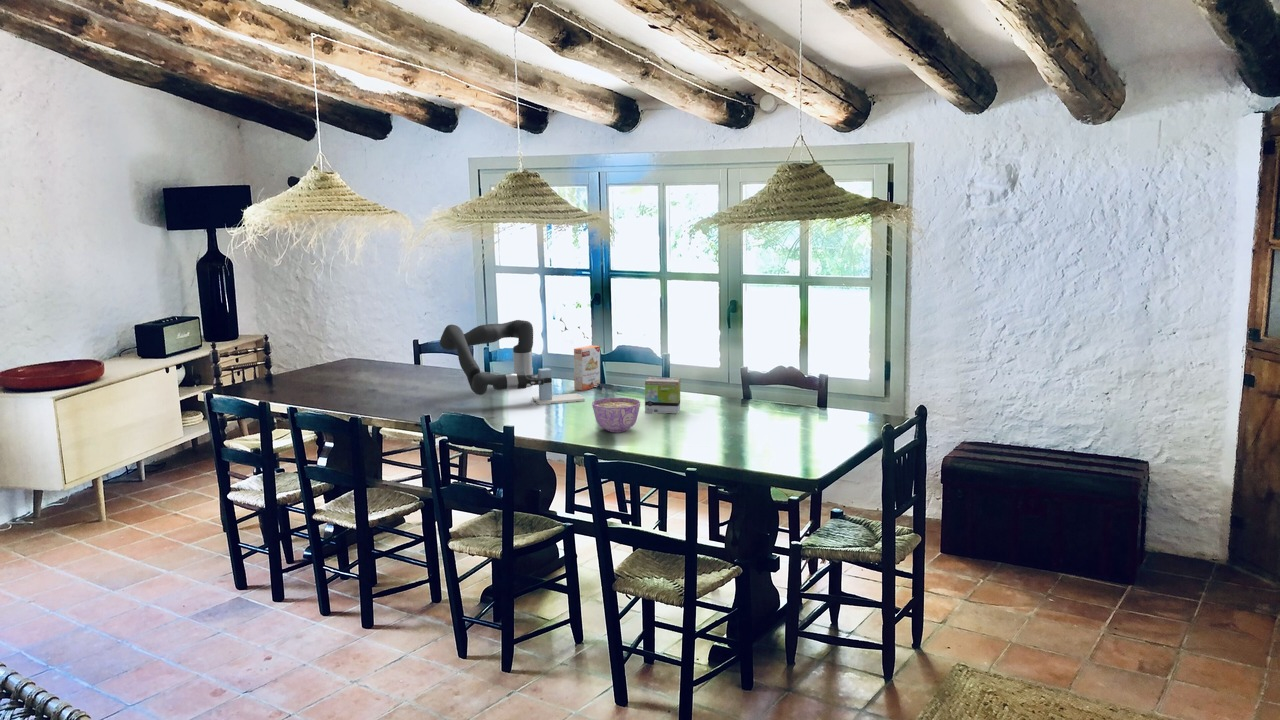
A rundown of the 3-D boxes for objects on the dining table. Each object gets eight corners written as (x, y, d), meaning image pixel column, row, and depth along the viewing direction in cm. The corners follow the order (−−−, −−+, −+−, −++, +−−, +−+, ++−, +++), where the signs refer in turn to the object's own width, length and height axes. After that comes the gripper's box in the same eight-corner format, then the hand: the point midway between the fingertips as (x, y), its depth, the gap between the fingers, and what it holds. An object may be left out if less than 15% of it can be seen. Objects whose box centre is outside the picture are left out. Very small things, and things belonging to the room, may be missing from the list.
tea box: (644, 413, 436) (644, 380, 434) (647, 408, 446) (647, 376, 443) (678, 414, 434) (678, 381, 431) (680, 409, 444) (680, 377, 441)
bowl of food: (636, 436, 395) (636, 408, 393) (587, 435, 399) (587, 407, 397) (644, 425, 415) (644, 398, 413) (597, 423, 418) (597, 396, 416)
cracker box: (583, 391, 486) (582, 349, 482) (573, 390, 489) (572, 348, 486) (601, 386, 497) (600, 345, 493) (592, 385, 500) (591, 344, 497)
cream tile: (532, 399, 468) (532, 396, 468) (577, 395, 475) (576, 393, 475) (538, 404, 456) (538, 402, 456) (584, 401, 463) (584, 398, 463)
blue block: (539, 398, 465) (538, 368, 463) (549, 397, 467) (548, 368, 464) (541, 400, 460) (540, 370, 458) (552, 399, 462) (551, 369, 460)
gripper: (512, 386, 464) (545, 383, 470) (519, 391, 451) (553, 389, 457) (511, 370, 463) (545, 368, 469) (518, 375, 450) (553, 373, 455)
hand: (549, 378), depth 463 cm, fingers open, 8 cm apart
